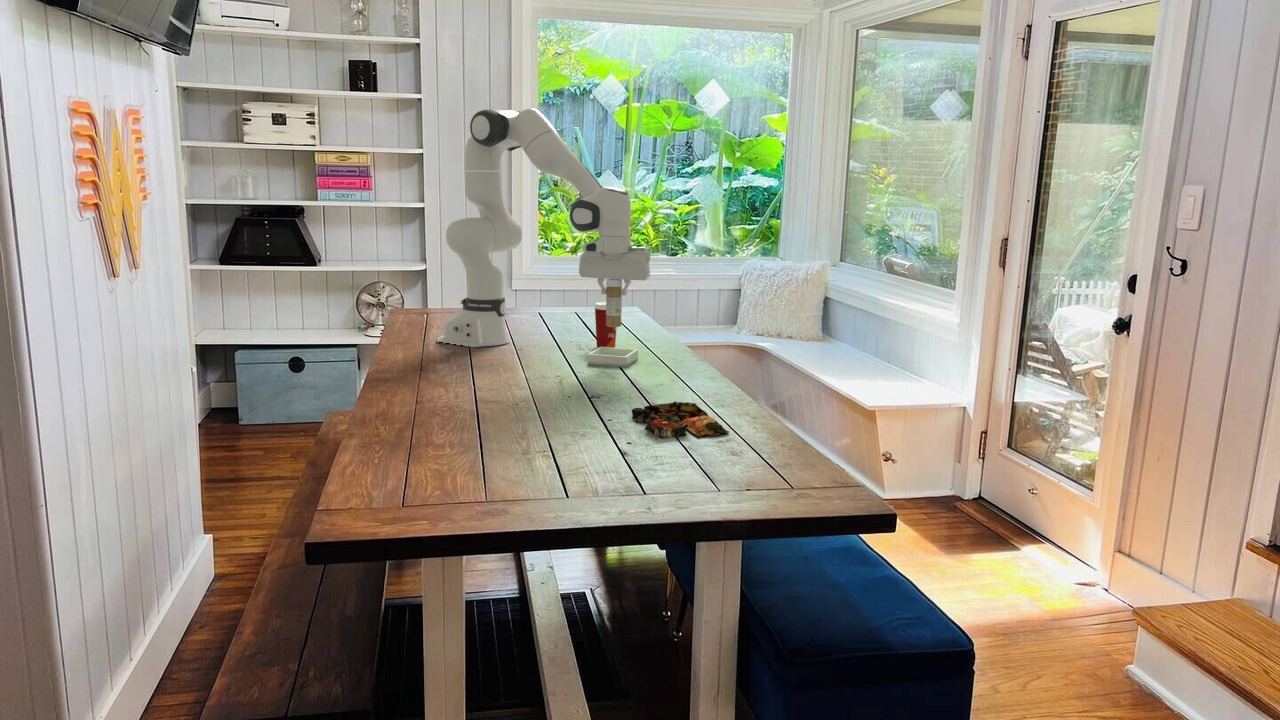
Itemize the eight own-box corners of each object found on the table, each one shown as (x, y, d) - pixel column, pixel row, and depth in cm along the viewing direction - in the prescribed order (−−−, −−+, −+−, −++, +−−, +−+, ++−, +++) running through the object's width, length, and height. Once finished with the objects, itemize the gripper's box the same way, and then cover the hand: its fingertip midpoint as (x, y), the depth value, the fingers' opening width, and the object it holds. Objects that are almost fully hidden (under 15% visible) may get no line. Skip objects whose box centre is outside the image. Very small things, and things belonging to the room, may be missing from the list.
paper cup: (617, 351, 282) (618, 305, 279) (592, 350, 282) (593, 305, 279) (618, 346, 290) (619, 301, 287) (594, 345, 290) (594, 301, 287)
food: (621, 416, 212) (622, 401, 211) (696, 411, 219) (697, 397, 218) (656, 444, 192) (656, 428, 191) (737, 438, 198) (738, 422, 198)
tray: (587, 364, 263) (587, 354, 262) (600, 356, 274) (600, 346, 273) (626, 367, 260) (626, 357, 259) (637, 359, 271) (638, 349, 270)
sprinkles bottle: (617, 324, 267) (618, 278, 265) (624, 326, 263) (624, 280, 261) (603, 325, 265) (603, 278, 263) (609, 327, 261) (610, 280, 259)
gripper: (653, 246, 260) (652, 295, 263) (584, 243, 265) (584, 291, 268) (647, 248, 254) (646, 298, 257) (577, 245, 259) (576, 293, 262)
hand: (614, 294), depth 263 cm, fingers closed on sprinkles bottle, 4 cm apart
